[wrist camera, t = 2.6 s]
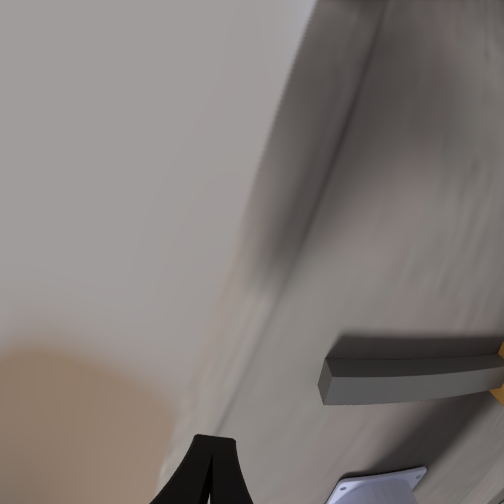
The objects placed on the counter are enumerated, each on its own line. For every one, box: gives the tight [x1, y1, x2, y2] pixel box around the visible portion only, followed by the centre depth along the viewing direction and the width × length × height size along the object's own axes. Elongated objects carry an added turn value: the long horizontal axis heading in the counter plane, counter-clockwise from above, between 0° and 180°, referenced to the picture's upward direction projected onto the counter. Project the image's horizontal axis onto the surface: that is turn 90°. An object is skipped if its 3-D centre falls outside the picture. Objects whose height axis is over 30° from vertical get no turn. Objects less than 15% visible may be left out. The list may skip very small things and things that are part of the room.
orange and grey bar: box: [318, 342, 504, 406], centre depth 14 cm, size 18×4×4 cm, turn 83°
